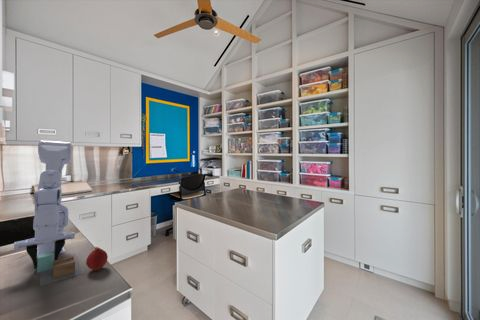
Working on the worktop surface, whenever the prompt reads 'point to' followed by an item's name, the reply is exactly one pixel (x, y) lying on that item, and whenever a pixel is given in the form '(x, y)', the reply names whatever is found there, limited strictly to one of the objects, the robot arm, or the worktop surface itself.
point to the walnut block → (63, 267)
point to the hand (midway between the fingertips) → (45, 265)
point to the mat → (48, 278)
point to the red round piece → (96, 259)
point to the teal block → (45, 261)
